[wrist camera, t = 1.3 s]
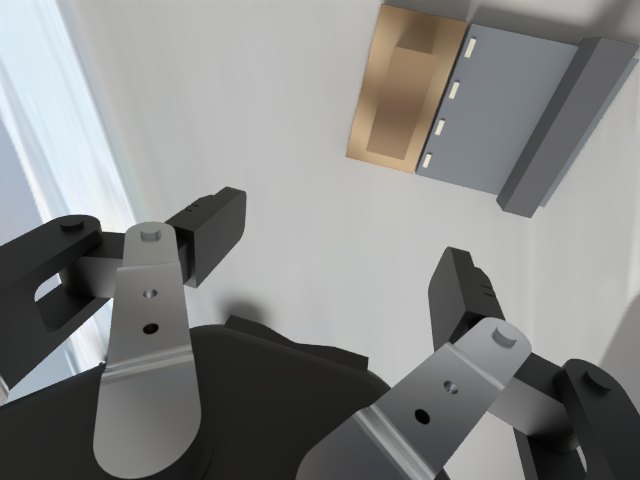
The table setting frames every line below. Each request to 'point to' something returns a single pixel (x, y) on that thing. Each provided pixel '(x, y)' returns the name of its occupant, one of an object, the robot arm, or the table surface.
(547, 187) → the board
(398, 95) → the stub
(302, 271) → the table surface
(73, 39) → the table surface
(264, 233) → the table surface
